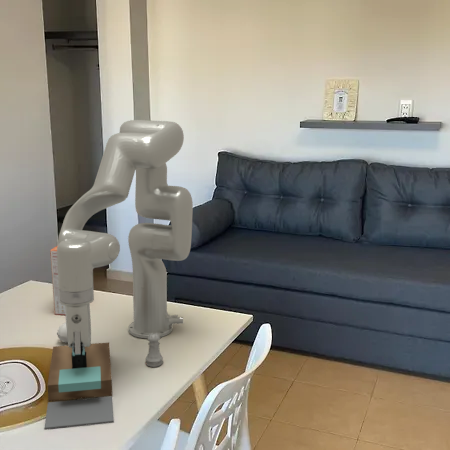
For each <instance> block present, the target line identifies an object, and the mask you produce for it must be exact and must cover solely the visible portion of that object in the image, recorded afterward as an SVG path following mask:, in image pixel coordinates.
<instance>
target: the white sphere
mask: <svg viewBox="0 0 450 450" xmlns="http://www.w3.org/2000/svg"><path fill="white" fill-rule="evenodd" d="M56 335H57V338H58V339H59V341H61V342H62V343H65V344H68V339H67V329H66V322H64V323H62V324H60V326H59V327H58V329H57V332H56Z"/></svg>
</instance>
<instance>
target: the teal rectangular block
mask: <svg viewBox="0 0 450 450" xmlns="http://www.w3.org/2000/svg"><path fill="white" fill-rule="evenodd" d="M58 386H59V392H70V391H81V390H92V389H101V370H100V366H98V367H86V368H74V369H63V370H60V372H59V383H58Z"/></svg>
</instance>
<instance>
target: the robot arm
mask: <svg viewBox="0 0 450 450" xmlns="http://www.w3.org/2000/svg"><path fill="white" fill-rule="evenodd" d="M106 141H107V142H106V145H105V148H104V151H103V154H102V157H101V161H100V164H99V167H98V170H97V174H96V176H95V180H94V183H93V185H92V187H91V188H90V189H89V190H88V191H86V192H85V193H84V194H83V195H81V197H80V198H79V199H78V200H76V202H74V203H73V205H72V206H71V207H70V208H69V209H68V210H67V212H66V214H65V217H64V219H63V221H62V222H63V223H62V225H61V228H60V231H59V235H58V238H57V239H58V240H57V245H56V246H57V263H58V283H59V302H60V304H62V305H65V314H66V315H65V323H66V329H67V339H68V343H67V346H68V347H69V348H71V347H72V369H74V368H86V367H87V359H86V352H85V347H86V346H88V347H89V346H90V345H91V344H92V326H91V325H92V322H91V305H90V304H91V303H92V302H94V301H95V297H94V295H95V294H94V269H95V268H101V267H105V266H108V265H110V264H112V263H113V262H115V261H116V260H117V258H118V257H119V254H120V251H121V245H120V242H119V239H117V237H116V236H115V235H113V234H110V233H107V232H98V231H93V230H92V231H91V230H83V229H84V227H85V225H86V223H87V222H88V220H89V219H90V218H92V216H93V215H95V214H97V213H99V212H101V211H103V210H105V209H107V208H109V207H112V206H115V205H118V204H120V203H122V202H124V201H126V199H127V198H128V197H129V194H130V189H131V185H132V182H133V179H134V176H135V193H134V194H135V197H134V198H135V199H134V203H135V204H134V205H135V212H136V214H137V215H138V216H140V217H142V218H144V219H153V220H159V221H160V220H162V221H169V222H170V224H169V225H168V224H162V223H153V222H141V223H136V224H135V225H133V226H132V227H131V228H130V230H129V233H128V236H127V237H128V238H127V239H128V242H127V243H128V248H129V252H130V257H131V265H132V266H131V267H132V298H133V299H132V300H133V301H132V303H133V307H132V308H133V321H132V322H130V323H129V325H128V333H130V335H131V336H133V337H136V338H139V339H147V338H148V337H149V334H151V335H152V333H154V334H155V333H157V334H159V336H160V338H162V337H165V336H168V335H169V334H170V333H171V332H172V331H173V325H175V324H176V325H181V324H184V317H183V316H178V314H172V315H170V314H169V313H168V310H167V309H168V304H167V301H168V298H167V296H168V294H167V291H168V287H167V285H168V284H167V282H168V281H167V278H168V275H167V269H166V266H165V263H164V262H163V260H166V261H167V260H168V261H176V262H178V261H179V262H180V261H184V260H186V259H187V258H188V257H189V255H190V251H191V248H192V236H193V235H192V233H193V231H192V230H193V210H194V208H193V207H194V206H193V198H192V197H193V196H192V194H191V193H190V191H189V190H188V189H187V188H185V187H182V186H177V185H168V180H167V179H168V166H167V162H170V160H171V159H173V158H174V157H175V156H176V155H177V154H178V153H179V152H180V150H181V149H182V147H183V144H184V130H183V128H182V126H181V125H179V124H178V123H177V122H174V121H167V120H147V119H133V120H132V119H130V120H127V121H124V122H123V123H122V124H120V127H119V133H114V134H113V135H111V136H110V137H109V138H108V139H107V140H106Z"/></svg>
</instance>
